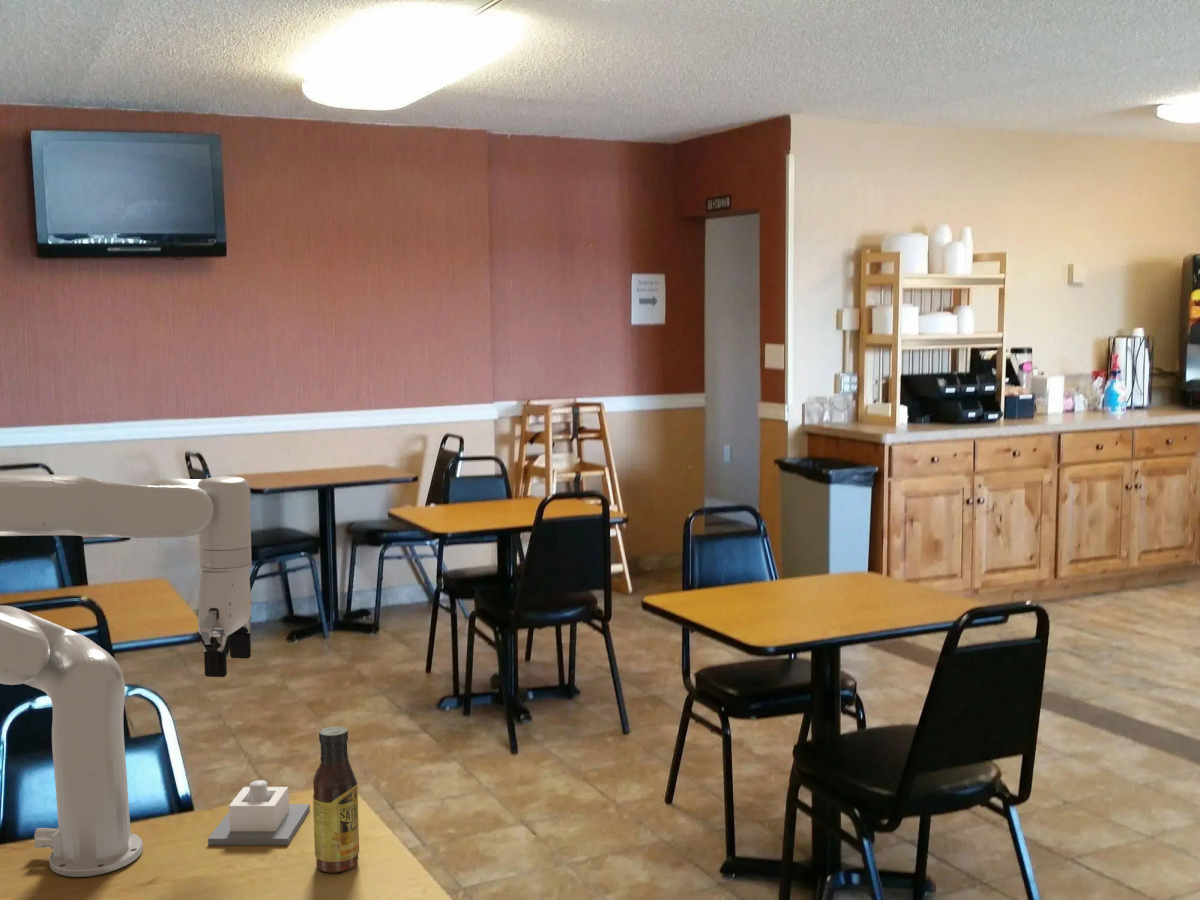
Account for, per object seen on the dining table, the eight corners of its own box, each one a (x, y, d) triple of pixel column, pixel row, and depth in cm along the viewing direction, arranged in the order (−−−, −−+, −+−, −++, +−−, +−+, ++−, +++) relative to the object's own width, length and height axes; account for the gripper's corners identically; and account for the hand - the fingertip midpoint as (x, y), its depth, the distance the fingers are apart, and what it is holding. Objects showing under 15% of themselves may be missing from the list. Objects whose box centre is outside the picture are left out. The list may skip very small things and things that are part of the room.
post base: (208, 845, 177) (205, 800, 176) (235, 810, 188) (232, 768, 188) (288, 845, 176) (285, 800, 175) (309, 810, 188) (307, 768, 187)
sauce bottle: (349, 877, 166) (343, 741, 164) (307, 873, 167) (301, 738, 165) (367, 855, 173) (362, 724, 170) (327, 852, 174) (321, 722, 171)
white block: (230, 831, 179) (228, 805, 178) (245, 811, 186) (243, 786, 185) (275, 831, 179) (274, 805, 178) (289, 811, 186) (288, 786, 185)
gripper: (223, 546, 190) (226, 650, 191) (177, 569, 172) (180, 683, 174) (269, 547, 189) (271, 652, 191) (227, 570, 172) (230, 684, 174)
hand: (228, 666), depth 183 cm, fingers open, 9 cm apart
